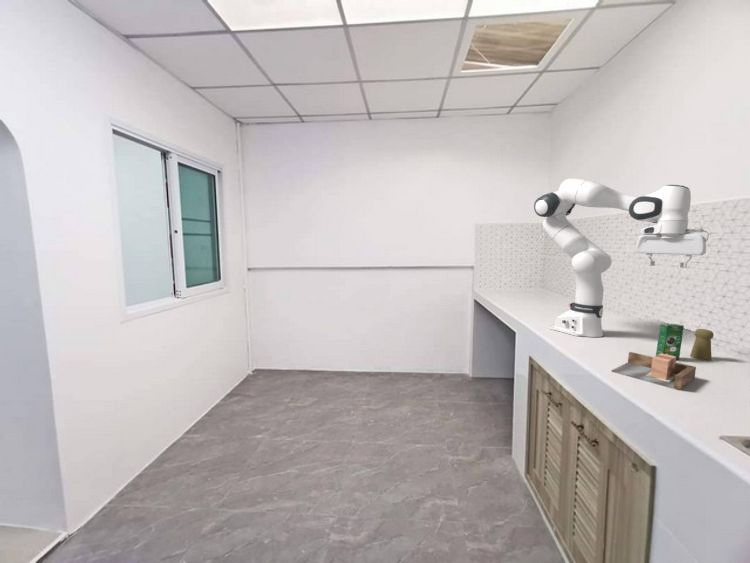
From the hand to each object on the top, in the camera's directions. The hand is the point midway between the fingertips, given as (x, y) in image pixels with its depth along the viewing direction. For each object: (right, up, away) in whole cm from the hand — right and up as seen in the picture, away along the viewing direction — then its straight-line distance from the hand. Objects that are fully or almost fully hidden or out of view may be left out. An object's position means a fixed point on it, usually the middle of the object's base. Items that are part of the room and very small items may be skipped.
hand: (666, 266), depth 133 cm
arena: (-20, -36, -18) cm, 45 cm away
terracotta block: (-18, -36, -19) cm, 44 cm away
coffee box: (0, -35, 0) cm, 35 cm away
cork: (+14, -35, +1) cm, 37 cm away
